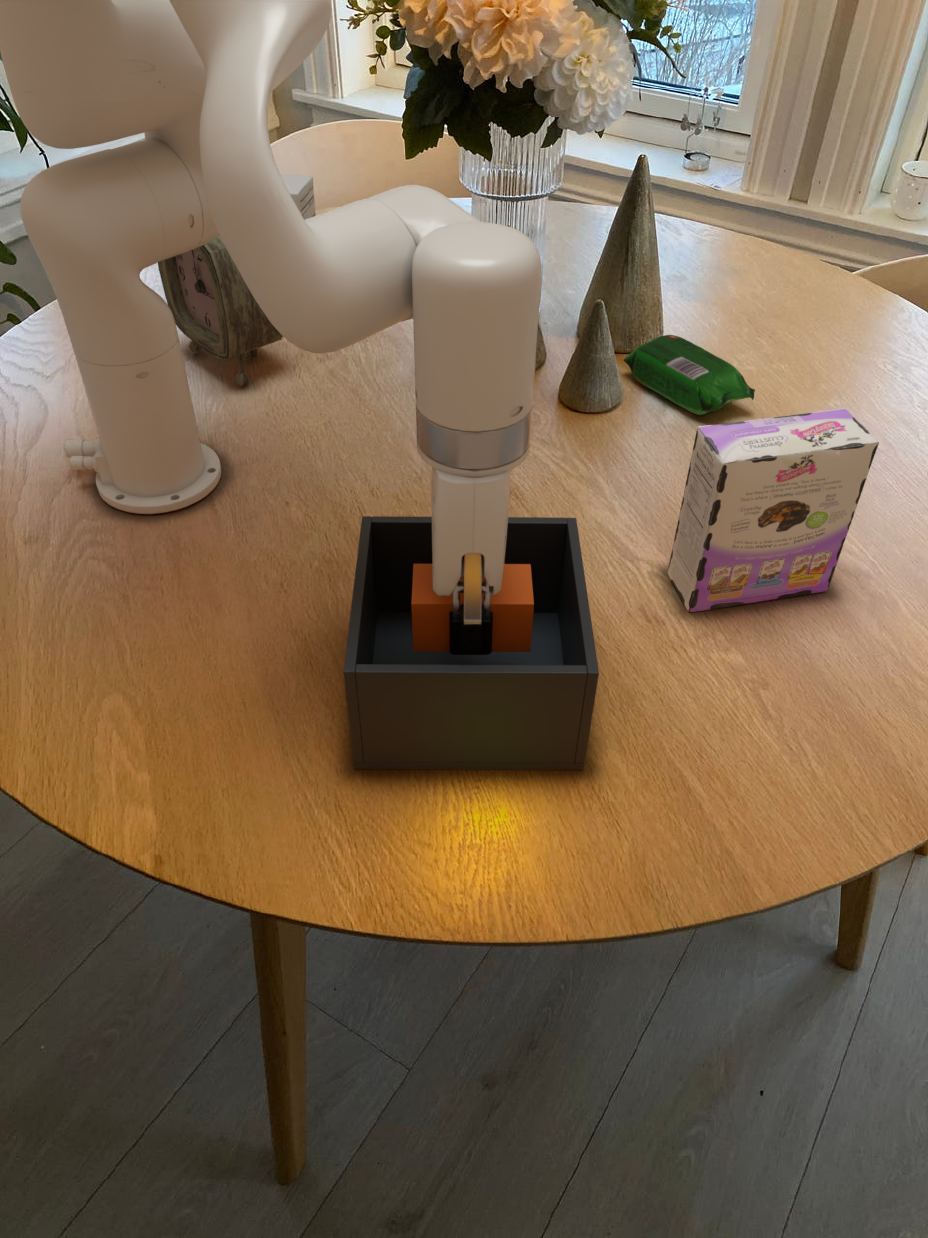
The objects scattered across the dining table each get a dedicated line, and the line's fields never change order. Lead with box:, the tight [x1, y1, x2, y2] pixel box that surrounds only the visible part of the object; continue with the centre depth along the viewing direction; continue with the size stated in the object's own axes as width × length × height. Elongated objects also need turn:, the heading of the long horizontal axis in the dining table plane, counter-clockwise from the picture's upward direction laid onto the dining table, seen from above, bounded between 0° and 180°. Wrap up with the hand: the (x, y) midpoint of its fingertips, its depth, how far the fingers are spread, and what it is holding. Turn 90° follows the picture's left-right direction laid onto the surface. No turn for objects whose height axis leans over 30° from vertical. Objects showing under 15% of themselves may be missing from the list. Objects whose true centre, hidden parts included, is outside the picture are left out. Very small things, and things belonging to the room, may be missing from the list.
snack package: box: [622, 334, 756, 416], centre depth 112 cm, size 7×16×5 cm, turn 36°
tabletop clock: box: [157, 235, 284, 388], centre depth 110 cm, size 14×9×25 cm, turn 42°
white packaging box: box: [280, 173, 317, 220], centre depth 133 cm, size 7×7×13 cm
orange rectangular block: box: [411, 564, 534, 652], centre depth 74 cm, size 9×5×5 cm, turn 90°
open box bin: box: [342, 515, 600, 771], centre depth 76 cm, size 18×18×11 cm
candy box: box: [666, 407, 880, 613], centre depth 84 cm, size 14×6×16 cm, turn 102°
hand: (470, 626), depth 75 cm, fingers closed on orange rectangular block, 4 cm apart
